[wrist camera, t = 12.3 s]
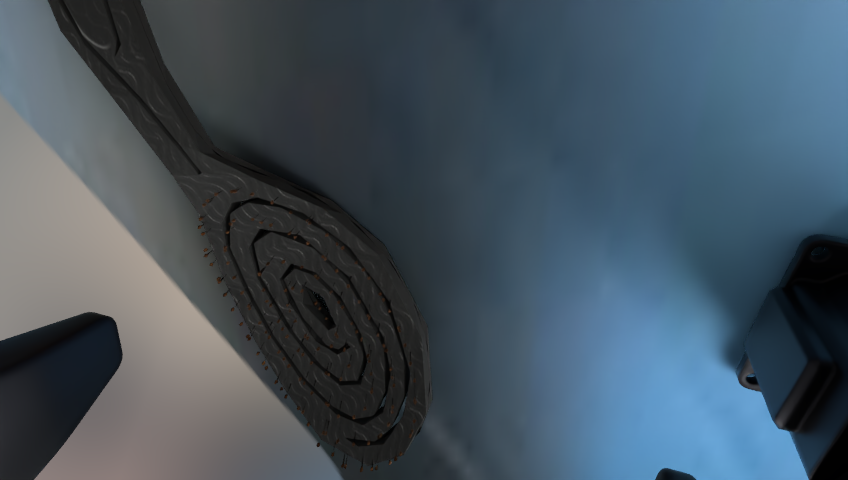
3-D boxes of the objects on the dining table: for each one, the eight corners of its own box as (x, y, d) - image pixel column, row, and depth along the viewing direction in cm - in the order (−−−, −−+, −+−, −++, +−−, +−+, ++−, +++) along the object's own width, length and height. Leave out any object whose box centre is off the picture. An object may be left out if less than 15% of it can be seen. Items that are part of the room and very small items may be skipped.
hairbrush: (47, -203, 16) (460, 463, 22) (143, -173, 19) (479, 400, 25) (-82, -37, 19) (304, 493, 25) (16, -36, 22) (337, 435, 29)
